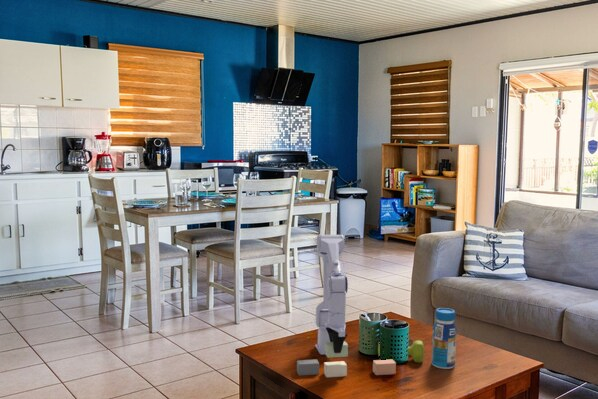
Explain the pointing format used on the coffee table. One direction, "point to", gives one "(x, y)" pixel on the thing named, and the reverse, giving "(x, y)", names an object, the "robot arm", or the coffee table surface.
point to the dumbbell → (413, 351)
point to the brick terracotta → (384, 367)
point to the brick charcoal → (307, 367)
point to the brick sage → (330, 350)
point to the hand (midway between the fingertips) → (336, 350)
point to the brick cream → (335, 369)
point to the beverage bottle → (444, 339)
